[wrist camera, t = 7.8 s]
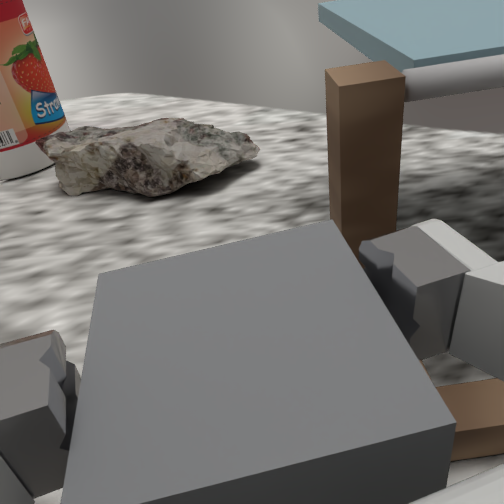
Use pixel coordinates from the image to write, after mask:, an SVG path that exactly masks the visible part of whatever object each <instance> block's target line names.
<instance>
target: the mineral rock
mask: <svg viewBox="0 0 504 504" xmlns="http://www.w3.org/2000/svg"><path fill="white" fill-rule="evenodd" d="M35 144H37V146H38V147H39V148H40V150H41V151H42V152H43V153H45V154H46V155H47V156H48V158H49V159H50V160H52V161H53V162H55V164H56V166H55V171H56V177H57V178H58V180H59V186H60V188H62V190H64V191H65V192H66V193H67V194H68V195H69V196H78V195H80V194H81V193H82V192H91V191H97V190H101V189H108V188H112V189H115V190H117V191H127V192H129V193H135V194H136V193H141V194H143V195H146V196H150V197H155V196H159V195H165V194H170V193H172V192H174V191H177V190H178V189H179V188H181V187H182V186H184V185H186V184H188V183H194V182H196V181H200V180H202V179H204V178H206V177H208V176H209V175H213V174H217V173H220V172H221V171H223V170H224V169H225V168H227V167H230V166H233V165H237V164H239V163H240V162H242V161H246V160H250V159H253V158H254V157H256V156H257V153H258V151H259V150H260V149H259V147H258V146H257V145H255V144H254V143H253V142H252V140H250V137H249V136H248V135H247V134H244V133H241V132H233V133H229V132H225V131H223V130H220V129H217V128H214V126H213V125H206V124H194V122H190V121H187V120H185V119H184V118H181V119H180V118H161V119H158V120H154V121H152V122H150V123H144V124H142V125H139V126H134V127H122V128H113V129H101V128H96V127H89V126H84V127H79V128H77V129H75V130H73V131H68V132H58V133H56V134H54V135H47V136H45V137H43V138H40V139H38V140H36V142H35Z"/></svg>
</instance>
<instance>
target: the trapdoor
mask: <svg viewBox="0 0 504 504" xmlns="http://www.w3.org/2000/svg"><path fill="white" fill-rule="evenodd" d="M318 10H319V21H320V22H321V23H322V24H324V25H325V26H326V27H328V28H329V29H330V30H332V31H333V32H334V33H336V34H337V35H338V36H340V37H341V38H342V39H344V40H345V41H347V42H348V43H349V44H351V45H352V46H353V47H355V48H356V49H357V50H359V51H360V52H361V53H363V54H364V55H365V56H367V57H368V58H369V59H371V60H372V61H373V62H375V61H382V60H385V61H387V62H388V63H389V64H390V65H392V66H393V67H394V68H396V69H397V70H398V71H400V72H401V73H402V74H403V75H405V76H406V79H405V95H404V102H410V101H416V100H423V99H429V98H435V97H442V96H449V95H455V94H462V93H469V92H475V91H481V90H488V89H494V88H501V87H504V0H337V1H331V2H324V3H319V4H318Z"/></svg>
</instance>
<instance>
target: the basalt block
mask: <svg viewBox="0 0 504 504" xmlns="http://www.w3.org/2000/svg"><path fill="white" fill-rule="evenodd" d="M456 423H457V422H456V420H455V419H454V417H453V415H452V414H451V412H450V411H449V409H448V407H447V406H446V404H445V402H444V401H443V399H442V398H441V396H440V394H439V393H438V391H437V389H436V388H435V386H434V384H433V383H432V381H431V380H430V378H429V376H428V375H427V373H426V371H425V370H424V368H423V366H422V365H421V363H420V362H419V360H418V358H417V357H416V355H415V353H414V352H413V350H412V348H411V347H410V345H409V344H408V342H407V340H406V339H405V337H404V335H403V334H402V332H401V331H400V329H399V327H398V326H397V324H396V322H395V321H394V319H393V317H392V316H391V314H390V313H389V311H388V309H387V308H386V306H385V304H384V303H383V301H382V299H381V298H380V296H379V295H378V293H377V291H376V290H375V288H374V286H373V285H372V283H371V281H370V280H369V278H368V277H367V275H366V273H365V272H364V270H363V268H362V267H361V265H360V264H359V262H358V260H357V259H356V257H355V255H354V254H353V252H352V250H351V249H350V247H349V246H348V244H347V242H346V241H345V239H344V237H343V236H342V234H341V232H340V231H339V229H338V228H337V226H336V224H335V223H334V221H333V219H331V220H327V221H323V222H319V223H314V224H310V225H306V226H302V227H297V228H293V229H289V230H284V231H280V232H276V233H272V234H267V235H263V236H259V237H254V238H250V239H246V240H242V241H237V242H233V243H229V244H225V245H220V246H216V247H212V248H207V249H203V250H199V251H195V252H190V253H186V254H182V255H178V256H173V257H169V258H165V259H160V260H156V261H152V262H148V263H143V264H139V265H135V266H130V267H126V268H122V269H118V270H113V271H109V272H105V273H101V274H99V275H98V281H97V287H96V293H95V299H94V305H93V311H92V317H91V323H90V329H89V335H88V341H87V347H86V353H85V359H84V365H83V371H82V377H81V383H80V389H79V395H78V401H77V407H76V413H75V419H74V426H73V432H72V438H71V444H70V450H69V456H68V462H67V468H66V474H65V480H64V486H63V492H62V498H61V504H409V503H411V502H413V501H416V500H418V499H421V498H423V497H425V496H428V495H430V494H432V493H435V492H437V491H439V490H442V489H444V488H446V485H447V478H448V472H449V466H450V460H451V454H452V448H453V442H454V436H455V429H456Z"/></svg>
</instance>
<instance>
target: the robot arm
mask: <svg viewBox="0 0 504 504" xmlns="http://www.w3.org/2000/svg"><path fill="white" fill-rule="evenodd" d="M359 260H360V261H361V262H362V264H363V265H364V266H365V268H364V269H363V270H364V272H365V273H366V275H367V277H368V278H369V280H370V281H371V283H372V285H373V286H374V288H375V290H376V291H377V293H378V295H379V296H380V298H381V299H382V301H383V303H384V304H385V306H386V308H387V309H388V311H389V313H390V314H391V316H392V317H393V319H394V321H395V322H396V324H397V326H398V327H399V329H400V331H401V332H402V334H403V335H404V337H405V339H406V340H407V342H408V344H409V345H410V347H411V348H412V350H413V352H414V353H415V355H416V357H417V358H418V360H422V359H426V358H429V357H432V356H435V355H438V354H441V353H444V352H447V351H449V354H451V355H453V356H455V357H457V358H459V359H461V360H463V361H465V362H467V363H469V364H471V365H472V366H474V367H476V368H478V369H480V370H482V371H484V372H486V373H488V374H490V375H492V376H494V377H496V378H498V379H500V380H502V381H504V261H502V262H497V261H496V260H494V259H493V258H492V257H490V256H489V255H488V254H486V253H485V252H484V251H482V250H481V249H480V248H478V247H477V246H475V245H474V244H473V243H471V242H470V241H469V240H467V239H466V238H465V237H463V236H462V235H461V234H459V233H458V232H456V231H455V230H454V229H452V228H451V227H450V226H448V225H447V224H446V223H444V222H443V221H442V220H438V219H430V220H427V221H424V222H421V223H418V224H415V225H411V226H410V227H408V228H404V229H401V230H397V231H394V232H390V233H387V234H384V235H380V236H377V237H373V238H370V239H367V240H363V241H362V242H361V245H360V247H359ZM80 383H81V378H80V375H79V373H78V370H77V368H76V366H75V364H73V363H70V362H68V361H66V346H65V344H64V342H63V340H62V338H61V336H60V334H59V332H57V331H55V330H51V331H47V332H43V333H40V334H36V335H32V336H28V337H25V338H21V339H17V340H13V341H10V342H6V343H2V344H0V504H34V503H35V501H34V500H33V499H34V498H37V497H40V496H42V495H45V494H47V493H50V492H53V491H55V490H58V489H61V488H63V486H64V480H65V474H66V468H67V462H68V456H69V450H70V444H71V438H72V432H73V426H74V419H75V413H76V407H77V401H78V395H79V389H80ZM409 504H504V463H503V464H501V465H499V466H496V467H494V468H492V469H489V470H487V471H484V472H482V473H480V474H477V475H475V476H473V477H470V478H468V479H466V480H463V481H461V482H458V483H456V484H454V485H451V486H449V487H447V488H444V489H442V490H439V491H437V492H435V493H432V494H430V495H428V496H425V497H423V498H421V499H418V500H416V501H413V502H411V503H409Z"/></svg>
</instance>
